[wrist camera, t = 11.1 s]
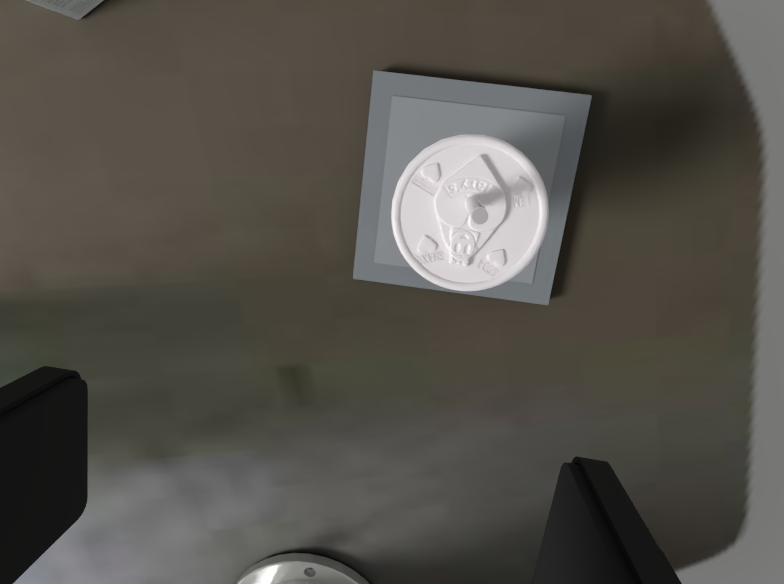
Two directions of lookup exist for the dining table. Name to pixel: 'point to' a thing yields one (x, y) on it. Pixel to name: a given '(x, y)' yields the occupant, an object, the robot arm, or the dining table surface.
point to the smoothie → (469, 212)
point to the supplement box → (69, 6)
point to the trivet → (454, 117)
